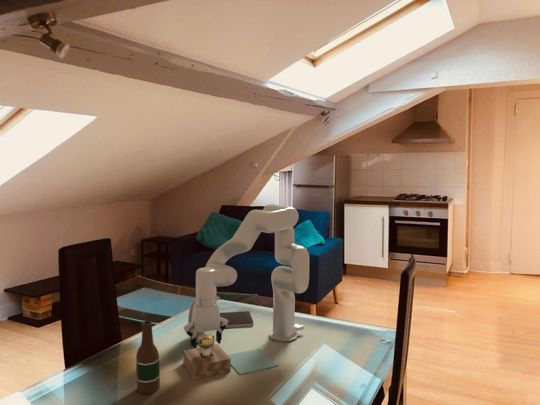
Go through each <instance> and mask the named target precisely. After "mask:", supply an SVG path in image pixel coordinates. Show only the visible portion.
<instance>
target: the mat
mask: <svg viewBox="0 0 540 405" xmlns="http://www.w3.org/2000/svg"><path fill="white" fill-rule="evenodd" d="M227 355H228V356H229V357H230V359H231V367H232V368H233V370H234V371H236V373H237V374H238V375H239V376H242V375H246V374H251V373H253V372H254V373H255V372H258V371H264V370H267V369H271V368H276V367H279V364H278V363H276V361H274V360H273V359H272V358H271V357H270V356H269V355H268V354H267V353H266V352H265V351H264V350H262V348H261V347H258V348H255V349H251V350H245V351H241V352H235V353H231V354H227Z"/></svg>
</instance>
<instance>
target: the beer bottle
mask: <svg viewBox="0 0 540 405" xmlns="http://www.w3.org/2000/svg"><path fill="white" fill-rule="evenodd" d="M153 325H154V324H153V322H152V321H151V320H144V321H143V322H141V328H142V329H141V342H140V346H139V348H138V349H137V350H136V351H137V352H136V355H135V356H136V359H135V361H136V362H135V365H136V368H135V370H136V371H135V372H136V390H137V391H138V393H139V394H141V395H144V396H145V395H146V396H147V395H150V394H155V393H156V392H158V390H160V384H161V377H160V376H161V375H160V374H161V373H160V367H161V366H160V353H159V351H158V348H157V346H156V345H155V343H154V336H153V335H154V334H153Z"/></svg>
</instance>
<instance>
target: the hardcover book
mask: <svg viewBox="0 0 540 405" xmlns="http://www.w3.org/2000/svg"><path fill="white" fill-rule="evenodd" d="M219 313H220V317H222V318H225V319H227V320H228V323H227V325H226V328H240V327H241V328H242V327H253V326H254V323H255V322H254V320H253V318H252V314H251V312H250V310H246V311H245V310H244V311H227V312H219ZM222 324H223V322H222V321H220V326H221V325H222ZM226 328H225V329H226Z"/></svg>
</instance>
